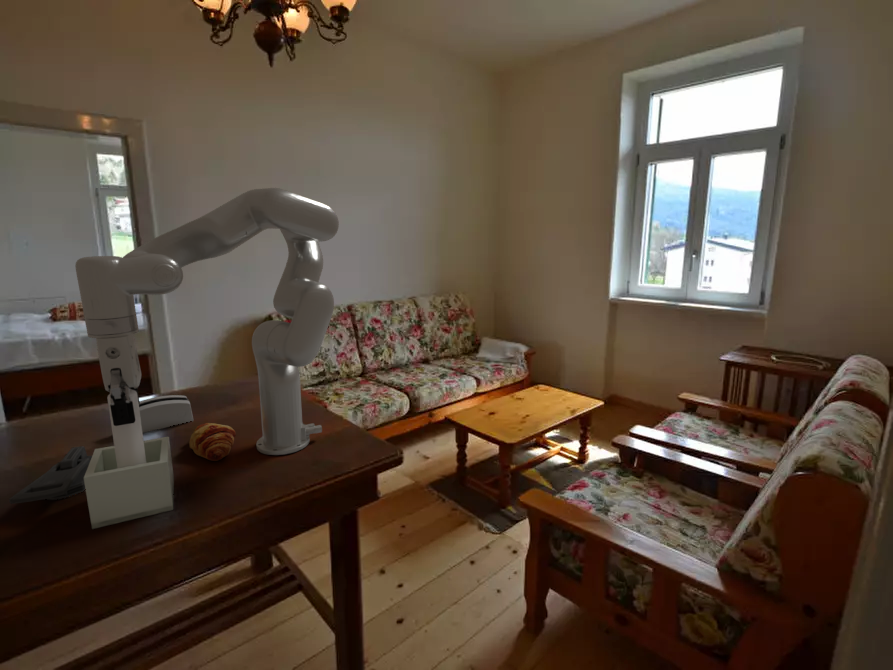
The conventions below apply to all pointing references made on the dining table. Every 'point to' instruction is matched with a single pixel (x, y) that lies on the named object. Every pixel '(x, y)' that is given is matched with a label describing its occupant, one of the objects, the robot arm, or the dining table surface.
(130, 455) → the candle
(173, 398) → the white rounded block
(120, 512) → the open square box
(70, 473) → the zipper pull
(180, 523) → the dining table surface
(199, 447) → the croissant
